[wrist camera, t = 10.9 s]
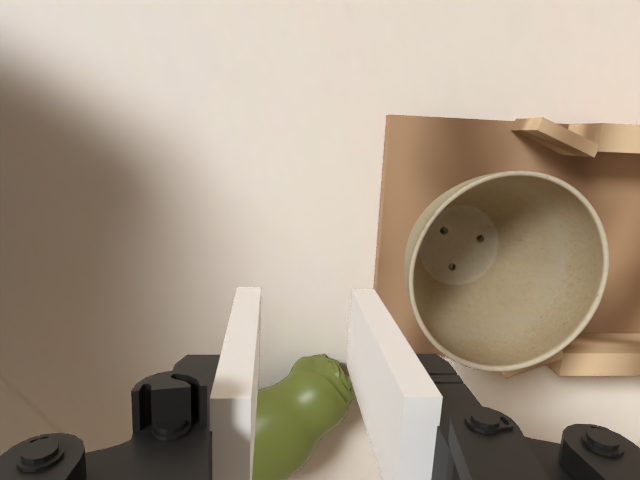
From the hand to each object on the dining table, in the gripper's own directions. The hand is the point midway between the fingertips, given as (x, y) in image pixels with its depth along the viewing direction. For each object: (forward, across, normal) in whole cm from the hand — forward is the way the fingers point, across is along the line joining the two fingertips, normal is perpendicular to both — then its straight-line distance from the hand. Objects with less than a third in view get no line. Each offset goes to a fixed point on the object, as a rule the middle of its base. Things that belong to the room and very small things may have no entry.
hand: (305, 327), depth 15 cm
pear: (+15, 0, -12) cm, 19 cm away
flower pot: (+14, +10, 0) cm, 17 cm away
